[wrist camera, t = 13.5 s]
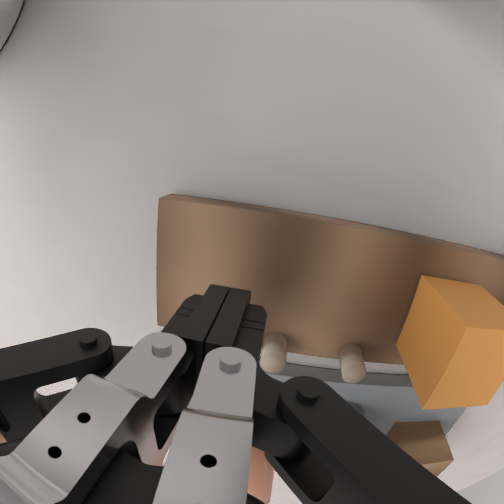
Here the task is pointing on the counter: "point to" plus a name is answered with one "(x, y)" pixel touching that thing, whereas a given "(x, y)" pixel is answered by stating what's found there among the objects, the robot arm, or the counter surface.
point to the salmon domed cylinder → (260, 476)
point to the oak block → (423, 443)
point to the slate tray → (377, 396)
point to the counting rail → (309, 275)
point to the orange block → (453, 344)
